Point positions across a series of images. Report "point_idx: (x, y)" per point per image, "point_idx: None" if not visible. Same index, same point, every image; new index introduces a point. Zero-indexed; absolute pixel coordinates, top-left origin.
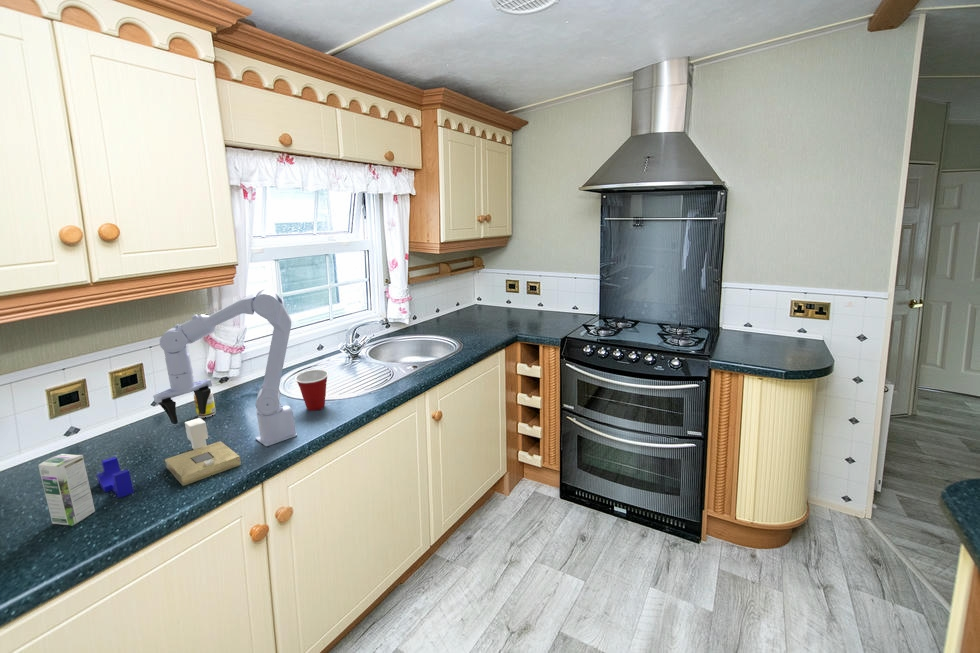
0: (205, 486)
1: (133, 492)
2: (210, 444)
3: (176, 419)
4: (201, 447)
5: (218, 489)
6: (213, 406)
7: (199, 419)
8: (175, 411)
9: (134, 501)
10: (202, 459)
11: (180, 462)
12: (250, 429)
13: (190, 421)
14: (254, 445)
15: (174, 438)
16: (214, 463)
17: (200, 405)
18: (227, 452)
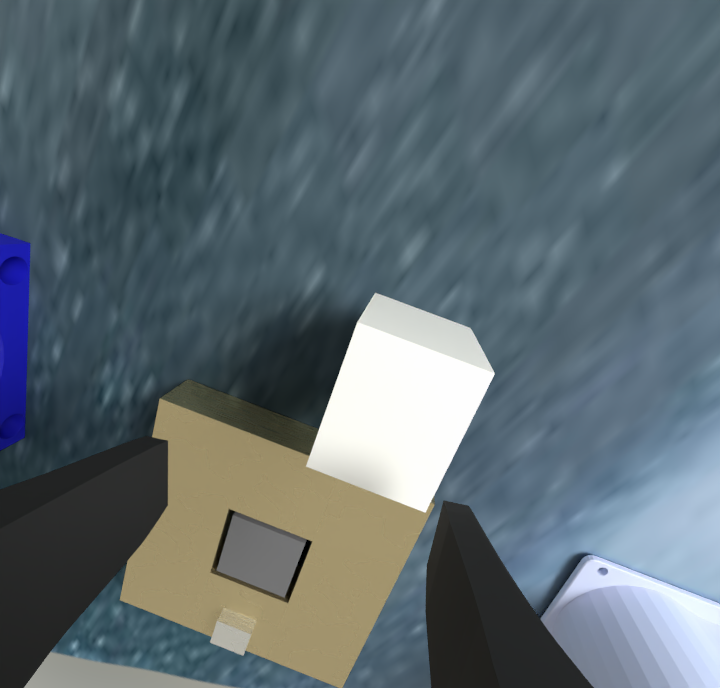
0: (186, 632)
1: (23, 437)
2: None
3: (122, 554)
4: None
5: (197, 678)
6: None
7: (458, 409)
8: (28, 674)
9: None
10: (248, 571)
11: (181, 501)
12: (716, 431)
13: (391, 365)
14: (519, 587)
15: (453, 13)
16: (248, 642)
17: (448, 633)
18: (346, 624)
